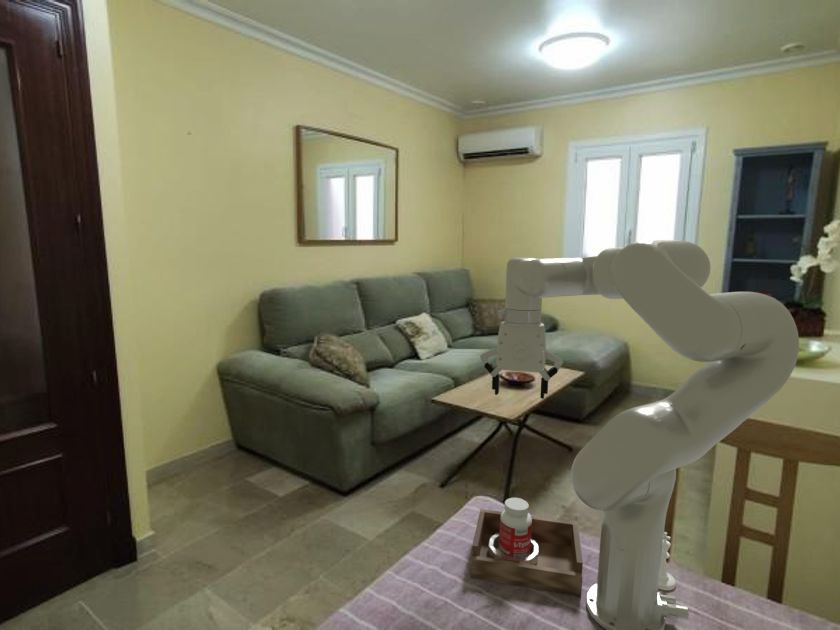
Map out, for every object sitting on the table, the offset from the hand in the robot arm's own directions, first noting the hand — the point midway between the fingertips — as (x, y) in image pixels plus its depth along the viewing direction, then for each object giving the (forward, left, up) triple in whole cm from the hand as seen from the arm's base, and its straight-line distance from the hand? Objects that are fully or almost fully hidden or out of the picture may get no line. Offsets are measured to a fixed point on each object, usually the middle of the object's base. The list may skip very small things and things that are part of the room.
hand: (519, 394), depth 105 cm
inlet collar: (0, +12, -30) cm, 33 cm away
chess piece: (-28, +12, -31) cm, 43 cm away
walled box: (-3, +13, -30) cm, 33 cm away
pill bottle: (-1, +12, -30) cm, 32 cm away
